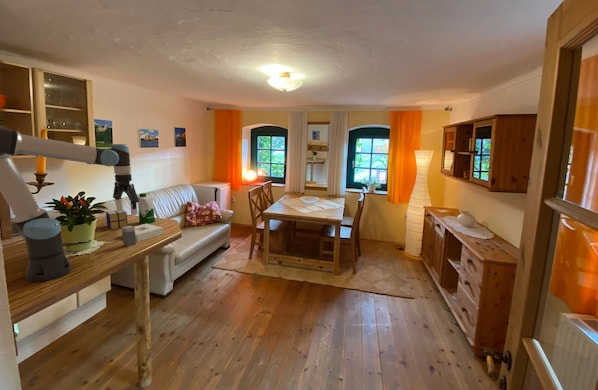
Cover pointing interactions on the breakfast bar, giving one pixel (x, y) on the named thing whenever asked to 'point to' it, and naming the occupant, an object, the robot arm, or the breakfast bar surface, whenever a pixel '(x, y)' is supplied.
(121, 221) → the puzzle cube
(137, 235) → the socket plate
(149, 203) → the milk carton
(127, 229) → the plug
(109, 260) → the breakfast bar surface
